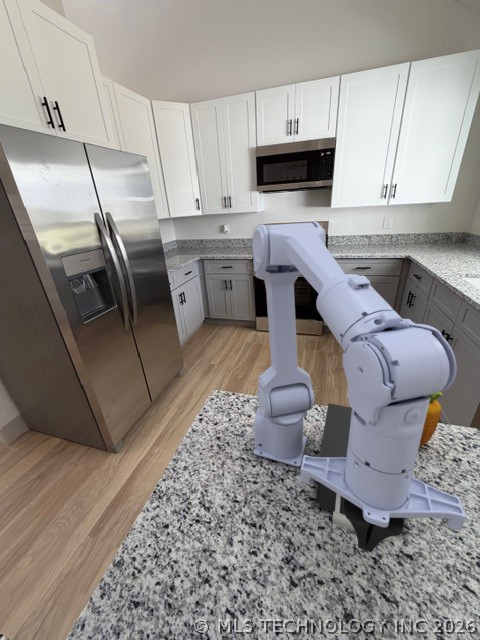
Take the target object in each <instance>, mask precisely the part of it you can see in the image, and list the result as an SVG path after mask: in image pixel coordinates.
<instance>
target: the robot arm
mask: <svg viewBox="0 0 480 640" xmlns="http://www.w3.org/2000/svg"><path fill="white" fill-rule="evenodd" d="M326 237H327V236H326V230H325V228H323V227H322V226H321V224H320V223H319V222H318V221H315V220H314V221H313V220H312V221H308V222H298V223H297V222H295V223H281V224H266V225H265V224H258V225H257V226H256V228H255V230H254V232H253V237H252V258H253V270H254V273H255V278H257V279H259V280H263V281H264V286H265V292H266V293H265V294H266V306H267V307H266V308H267V322H268V323H267V325H268V335H269V351H270V352H269V353H270V366H269V367H267V369H265V370H264V371H263V372H262V373H260V375H258V379H257V389H256V398H257V403H258V408H257V410H256V412H255V416H254V422H253V434H254V435H253V436H254V449H253V454H254V455H255V456H259V457H263V458H266V459H269V460H273V461H276V462H279V463H282V464H286V465H288V466H289V465H290V466H293V467H296V468H300V476H299V477H300V478H299V479H300V480H299V481H300V482H301V483H305V484H307V485H308V484H309V485H310V484H311V483H312V481H315V482H317V481H318V482H320V483H322V484H323V485H325V486H326V487H328V488H330V489H331V490H333V491H334V492H336V493H337V494H339V495H341V496H342V497H344V512H345V516H346V518H347V519H348V520H349V521H350V522H351V524H352V526H353V528H354V530H355V531H354V530H353V531H354V533H355V536H356V539H357V548H358V549H360V550H363V551H365V552H368V553H370V554H371V553H373V551H374V549H376V547H377V546H378V545H379V544H380V543H381V542H383V541H382V540H384V539H386V538H388V537H391V538H392V537H395V536H396V537H399V536H401V534H402V532H403V530H404V526H405V522H404V521H403V518H405V519H410V518H411V519H413V518H414V519H441V520H444V521H445V525H446V526H447V527H448V528H449V529H453V530H456V531H458V532H459V531H461V532H462V529H463V526H464V524H465V521H466V518H467V515H466V513H465V509H464V507H463V505H462V501H461V498H460V497H459V496H457V495H455V494H454V495H453V494H450V493H447V492H445V491H443V490H440V489H438V488H436V487H434V486H432V485H429V484H427V483H426V482H424V481H421V480H419V479H418V478H416V477H414V476H413V475H414V469H415V465H416V463H417V457H418V453H419V449H420V447H419V445H420V440H421V436H422V432H423V427H424V423H425V419H426V415H427V410H428V406H429V402H430V397H428V396H427V395H432V394H435V393H438V392H441V393H442V392H444V391H446V390H447V389H449V388H450V387H451V386H452V384H454V381H455V379H456V377H457V370H458V369H457V367H458V366H457V360H456V355H455V353H454V351H453V349H452V347H451V345H450V344H449V342H448V341H447V340H446V339H445V337H444V336H443V334H442V333H441V331H440V330H439V329H437V328H435V327H433V326H432V325H428V324H423V323H415V322H414V321H412V320H411V319H410V318H402V317H401V316H400V314H399V313H398V312H397V311H396V310H395V309H394V308H393V307H392V306H391V305H390V304H389V303H388V302H387V301H386V300H385V299H384V297H382V296H381V294H380V293H378V291H376V289H374V287H373V286H372V285H371V281H370V280H369V278H367V277H366V276H365V275H359V274H356V273H347V274H346V273H345V272H344V270H343V269H342V268H341V265H339V263H338V262H337V260H336V258H334V256H333V255H332V253H331V252H330V250H329V249H328V248H327V245H326V244H327V243H326V242H327V238H326ZM301 275H302V277H303V278H304V279H305V280H306V281H307V283H309V285H311V287H312V288H313V289H314V290H315V292H316V293H317V294H318V295H317V298H316V303H315V304H316V310H317V311H318V313H319V315H320V316H321V318H322V319H323V322H324V323H325V324H326V325H327V328H328V329H329V330H330V332H331V333H332V335H333V336H334V338H335V340H336V342H337V343H338V344H339V346H340V347H341V349H342V350H343V353H342V368H343V372H344V376H345V378H346V383H347V394H346V398H347V399H348V405H349V407H351V408H352V413H351V422H350V431H349V440H348V448H347V457H319V456H310V455H307V454H305V450H306V449H305V448H306V445H307V440H308V437H307V436H306V435H304V418H305V417H307V416H308V411H311V410H312V409H313V408H314V405H315V393H314V392H315V391H314V389H313V386H312V378H311V376H310V375H309V373H308V371H306V370H305V369H303V368H302V367H300V366H299V365H298V364H299V363H298V346H297V344H298V343H297V327H296V326H297V322H296V305H295V304H296V303H295V302H296V301H295V283H296V281H297V279H298V278H299V276H301Z"/></svg>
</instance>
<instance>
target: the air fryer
mask: <svg viewBox="0 0 480 640" xmlns="http://www.w3.org/2000/svg"><path fill="white" fill-rule="evenodd" d="M351 413H352V407H351V406H345V405H341V404H340V405H339V404H335V403H330V402H328V403H327V410H326V413H325V421H324V426H323V433H322V438H321V444H320V450H319V456H318V457H347V448H348V440H349V431H350V422H351ZM320 485H321V483H320V482H318V481H316V493H315V495H316V496H315V497H316V498H315V504H317V505H319V498H320ZM403 521H404V523H405V521H406V518H403Z"/></svg>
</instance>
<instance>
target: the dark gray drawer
mask: <svg viewBox="0 0 480 640" xmlns="http://www.w3.org/2000/svg"><path fill="white" fill-rule="evenodd" d="M318 508H319V509H323V510H325V511H328V512H331V513H333V514H332V524H334V525H337V526H339V527H342V528H344V529H345V528H346V529H348V530H351V531H354V532H355V530H354V528H353V526H352V524H351V522H350V521H349V520H348V519H347V518H346V516H345V512H344V497H342V496H341V495H339V494H337V493H336V492H334V491H333V490H331V489H330V488H328V487H326V486H325V485H323V484H322V483H321V485H320V498H319V504H318ZM391 539H392V536H391V537H388V538H386V539H384V540H382V541H381V542H385V543H388V544H390V543H391Z"/></svg>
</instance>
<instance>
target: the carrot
mask: <svg viewBox="0 0 480 640" xmlns="http://www.w3.org/2000/svg"><path fill="white" fill-rule="evenodd" d="M427 396H428V397H430V402H429V406H428V410H427V415H426V419H425V423H424V427H423V432H422V436H421V440H420V445H419V448H422V447H423V446H425V445H426V444H427V443H428V442H429V441H430V440H431V439H432V437H433V435H434V434H435V432H436V430H437V427H438V425H439V421H440V418H441V414H442V404H440V402H439V401H437V399H438V398H440V397H442V396H443V393H442V391H441V392H438V393H435V394H432V395H427Z"/></svg>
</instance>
